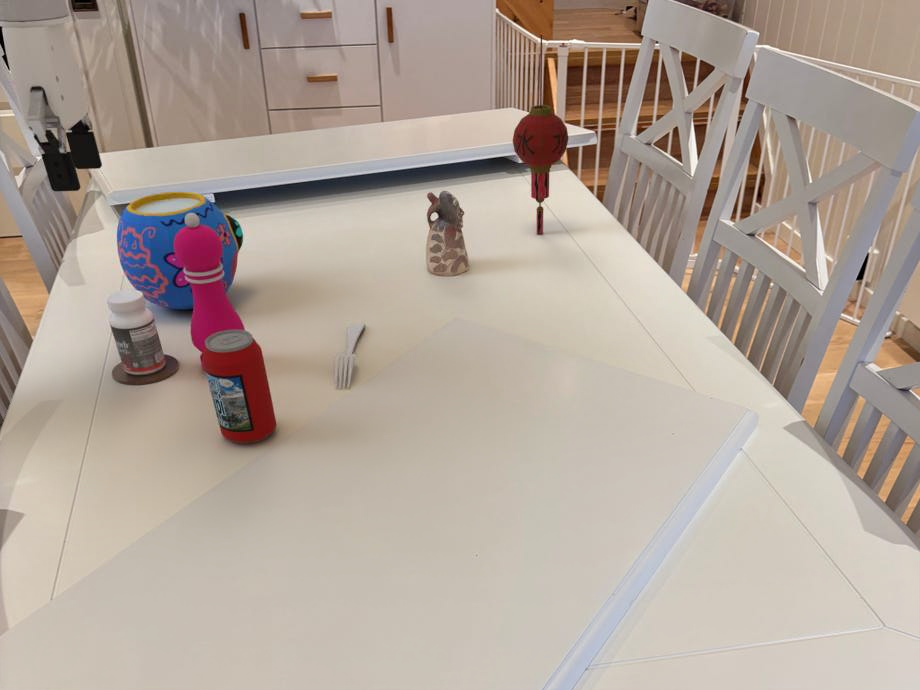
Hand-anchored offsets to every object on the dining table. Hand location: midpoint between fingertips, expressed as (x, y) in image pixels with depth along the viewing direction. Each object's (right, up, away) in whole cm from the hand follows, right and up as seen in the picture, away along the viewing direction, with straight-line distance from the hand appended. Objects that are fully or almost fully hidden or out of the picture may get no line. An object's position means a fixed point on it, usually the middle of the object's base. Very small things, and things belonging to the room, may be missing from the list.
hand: (78, 178), depth 109 cm
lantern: (+59, +17, +54) cm, 82 cm away
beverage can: (+20, -30, +2) cm, 36 cm away
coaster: (+2, -18, +17) cm, 25 cm away
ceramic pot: (+3, -2, +35) cm, 35 cm away
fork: (+30, -16, +18) cm, 38 cm away
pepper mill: (+13, -18, +17) cm, 28 cm away
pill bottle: (+2, -18, +17) cm, 24 cm away
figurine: (+43, +6, +42) cm, 61 cm away
